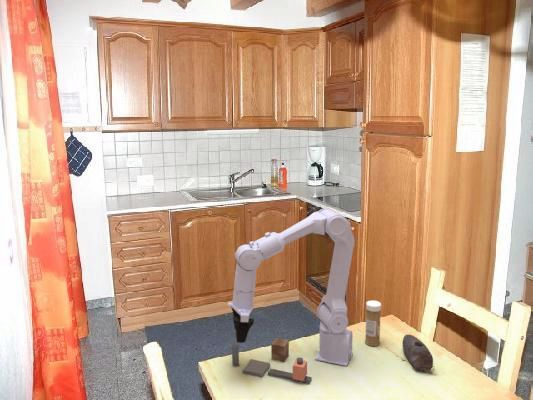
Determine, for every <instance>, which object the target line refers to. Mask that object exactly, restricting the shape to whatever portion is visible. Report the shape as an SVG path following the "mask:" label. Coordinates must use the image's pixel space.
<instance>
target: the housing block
mask: <svg viewBox="0 0 533 400" xmlns="http://www.w3.org/2000/svg"><path fill="white" fill-rule="evenodd" d="M289 348H290V339H284V338H279V337H275V339H274V340H273V341H272V343H271V347H270V349H271V353H270V354H271V355H270V356H271V360H272V361H277V362H281V363H285V361H287V359H288V358H289V355H290V352H289V351H290V349H289Z"/></svg>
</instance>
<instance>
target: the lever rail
mask: <svg viewBox="0 0 533 400" xmlns="http://www.w3.org/2000/svg"><path fill="white" fill-rule="evenodd" d="M267 376H269V377H274V378H277V379H281V380H287V381H292V382H295V383H296V382H297V383H300V384H306V385H310V384H311V382H312V381H313V380H312V379H313V378H312V376H308V375H306V377H305V379H304V381H300V380H295V379H293V372H290V371H284V370H279V369H275V368H271V367H269V369H268V370H267Z"/></svg>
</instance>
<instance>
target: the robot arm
mask: <svg viewBox="0 0 533 400" xmlns="http://www.w3.org/2000/svg"><path fill="white" fill-rule="evenodd" d="M353 233H354V232H353V231H352V229H351V222H350V221H349V220H348V219H347V218H346V217H345V216H344V215H342V214H339V213H337V212H336V211H333V209H331V208H328V207H324V208H321V209H320V210H318V211H314V212H312V213H311V214H310V215H309V216H307V217H306V218H303V219H302V220H301V221H299V222H297V223H295V224H293V225H292V226H290V227H288V228H286V229H285V230H283V231H281V232H278V233H277V232H274V231H272V232H269V231H268V232H265V233H264V236H262V237H261V238H258V239H257V240H255V241H253V240H252V241H251V240H250V241H249V244H242V245H240V246H239V247H238V248H237V249H236V251H235V252H234V258H235V260H236V261H237V262H236V265H235V266H236V267H235V272H234V282H233V293H232V301H229V302H227V306H228V308H230V309H231V310H232V315H233V316H232V321H233V324H234V325H233V327H234V329H235V339H236V342H237V343H238V344H239V343H240V344H241V343H246V340H247V337H248V334H249V331H250V329H251V328H252V326H253V325H254V324H255V319H254V318H250V314H251V313H252V311H253V309H254V306H255V304H254V299H255V291H256V290H255V288H256V281H257V280H256V278H257V269H258V268H259V267H260V265H261V263H262V262H263V261H265V260H268V259H270V258H271V257H273V256H275V255H277V254H279V253H281V252H283V251H284V248H285V247H286V245H287V244H289V243H291V242H294V241H296V240H299V239H300V238H303V237H305V236H307V235H309V234H317V235H322V236H324V235H325V234H327V235H328V236H329V238H330V239H331V240H332V241H333V242H334V247H333V252H332V253H333V254H332V259H331V263H330V264H331V265H330V271H329V274H328V275H329V276H328V281H327V283H328V284H327V287H326V288H327V289H326V292H325V293H326V294H324V295H323V296H322V297H321V302H320V303H319V305H318V307H317V309H316V316H317V317H318V318H319V320H320V322H319V323H320V324H319V345H318V346H319V347H318V348H319V350H318V352H317V354H316V356H315V358H314V360H315V361H319V362H325V363H329V364H335V365H341V366H345V367H346V366H348V365H349V363H350V360H351V358H352V355H353V331H352V330H349V329H348V326H349V318H348V307H347V303H346V300H345V298H346V297H345V296H346V292H347V288H348V287H347V286H348V281H349V276H350V270H351V265H352V259H353V253H354V247H355V237H354V234H353Z"/></svg>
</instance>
